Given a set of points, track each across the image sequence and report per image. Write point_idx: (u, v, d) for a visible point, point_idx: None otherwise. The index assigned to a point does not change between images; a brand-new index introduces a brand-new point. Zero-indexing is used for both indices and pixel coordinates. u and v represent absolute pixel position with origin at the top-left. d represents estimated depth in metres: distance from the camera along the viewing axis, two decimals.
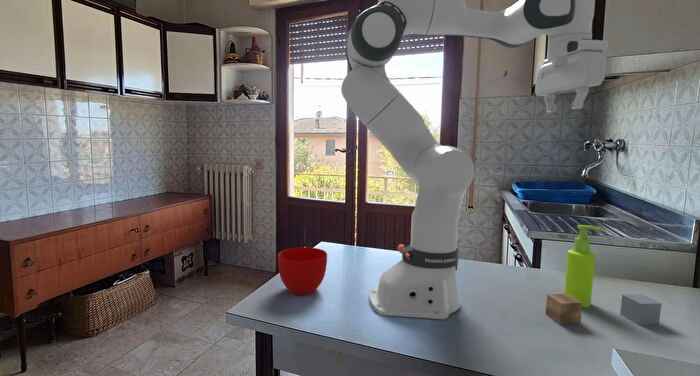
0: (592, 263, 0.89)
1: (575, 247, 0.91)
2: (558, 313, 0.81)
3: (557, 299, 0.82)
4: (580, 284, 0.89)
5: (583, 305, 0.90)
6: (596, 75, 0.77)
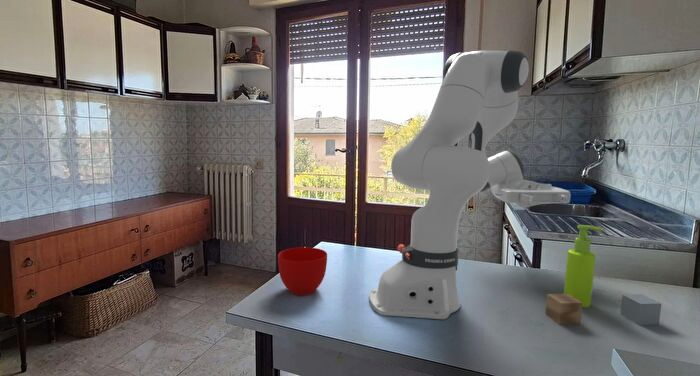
0: (592, 263, 0.89)
1: (575, 247, 0.91)
2: (558, 313, 0.81)
3: (557, 299, 0.82)
4: (580, 284, 0.89)
5: (583, 305, 0.90)
6: None
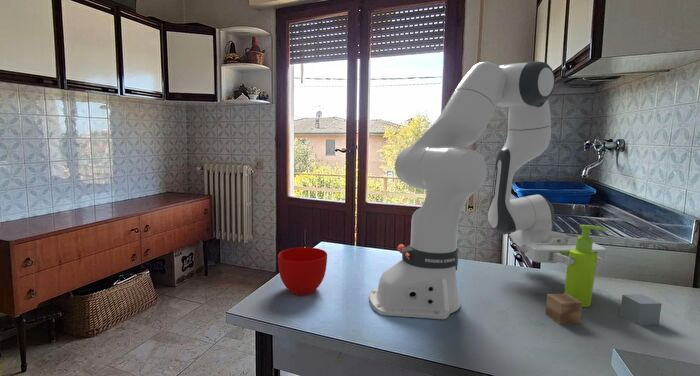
0: (594, 263, 0.89)
1: (577, 246, 0.91)
2: (558, 313, 0.81)
3: (557, 299, 0.82)
4: (581, 283, 0.89)
5: (583, 305, 0.90)
6: None
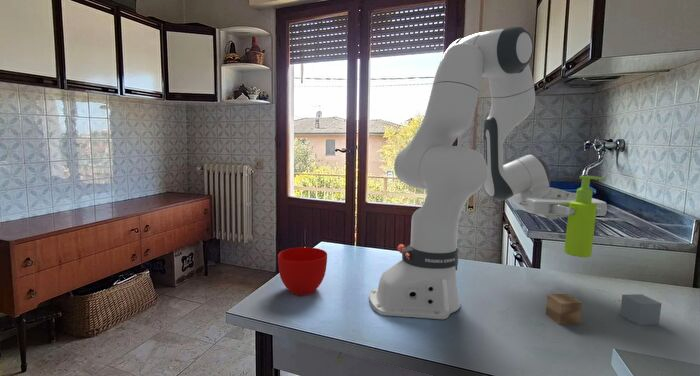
0: (594, 212, 0.89)
1: (577, 197, 0.91)
2: (558, 313, 0.81)
3: (557, 299, 0.82)
4: (582, 234, 0.89)
5: (584, 255, 0.90)
6: None
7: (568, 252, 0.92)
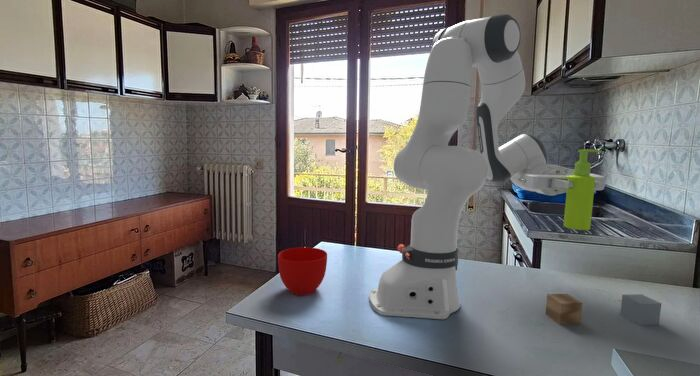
0: (592, 185, 0.90)
1: (575, 171, 0.92)
2: (558, 313, 0.81)
3: (557, 299, 0.82)
4: (580, 206, 0.90)
5: (583, 228, 0.91)
6: None
7: (567, 225, 0.93)
